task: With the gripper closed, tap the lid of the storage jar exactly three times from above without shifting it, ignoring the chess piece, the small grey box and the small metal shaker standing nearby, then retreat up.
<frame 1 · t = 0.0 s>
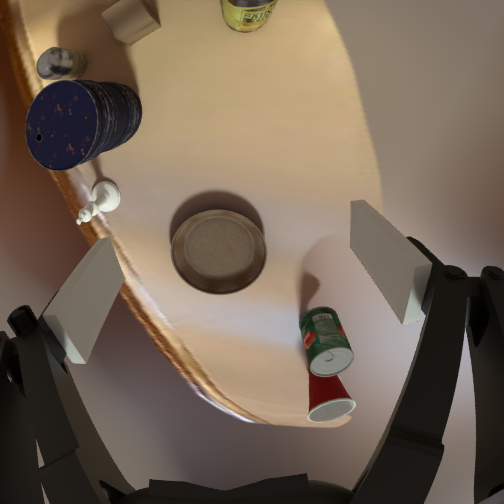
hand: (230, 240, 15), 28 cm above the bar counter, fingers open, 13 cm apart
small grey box: (138, 24, 29), on the bar counter
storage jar: (112, 115, 36), on the bar counter
saucer: (219, 247, 47), on the bar counter
plastic cup: (320, 371, 64), on the bar counter
sauce bottle: (246, 15, 30), on the bar counter
chess piece: (106, 195, 41), on the bar counter
metal shaker: (74, 65, 31), on the bar counter
canned tomato: (318, 320, 56), on the bar counter
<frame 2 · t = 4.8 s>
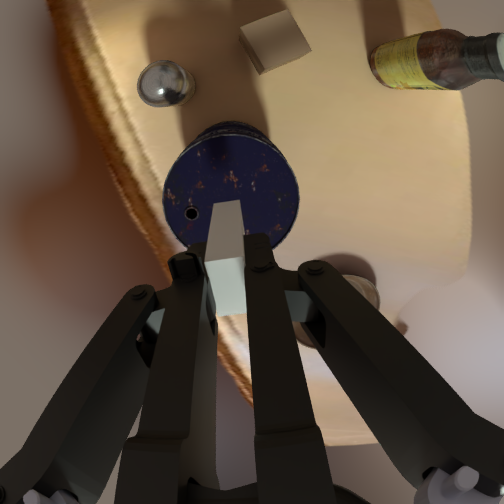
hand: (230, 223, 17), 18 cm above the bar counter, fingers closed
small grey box: (269, 48, 27), on the bar counter
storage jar: (231, 161, 33), on the bar counter
saucer: (331, 304, 45), on the bar counter
sauce bottle: (389, 65, 28), on the bar counter
metal shaker: (175, 87, 28), on the bar counter
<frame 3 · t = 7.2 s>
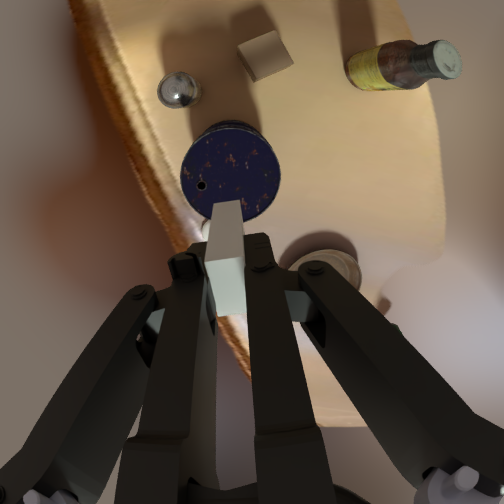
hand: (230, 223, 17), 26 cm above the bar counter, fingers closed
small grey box: (261, 60, 34), on the bar counter
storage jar: (231, 152, 41), on the bar counter
saucer: (318, 278, 52), on the bar counter
sauce bottle: (362, 71, 35), on the bar counter
chess piece: (217, 231, 46), on the bar counter
metal shaker: (185, 92, 36), on the bar counter
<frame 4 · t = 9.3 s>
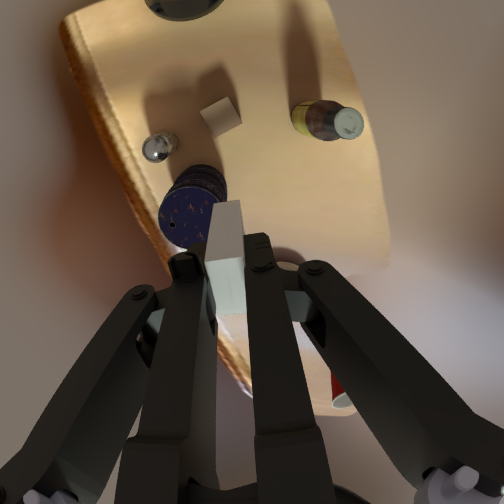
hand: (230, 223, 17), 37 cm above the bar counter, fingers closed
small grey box: (222, 115, 48), on the bar counter
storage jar: (201, 188, 54), on the bar counter
plastic cup: (339, 369, 83), on the bar counter
sauce bottle: (307, 117, 49), on the bar counter
metal shaker: (165, 143, 49), on the bar counter
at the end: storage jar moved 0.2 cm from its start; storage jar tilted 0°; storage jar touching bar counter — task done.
